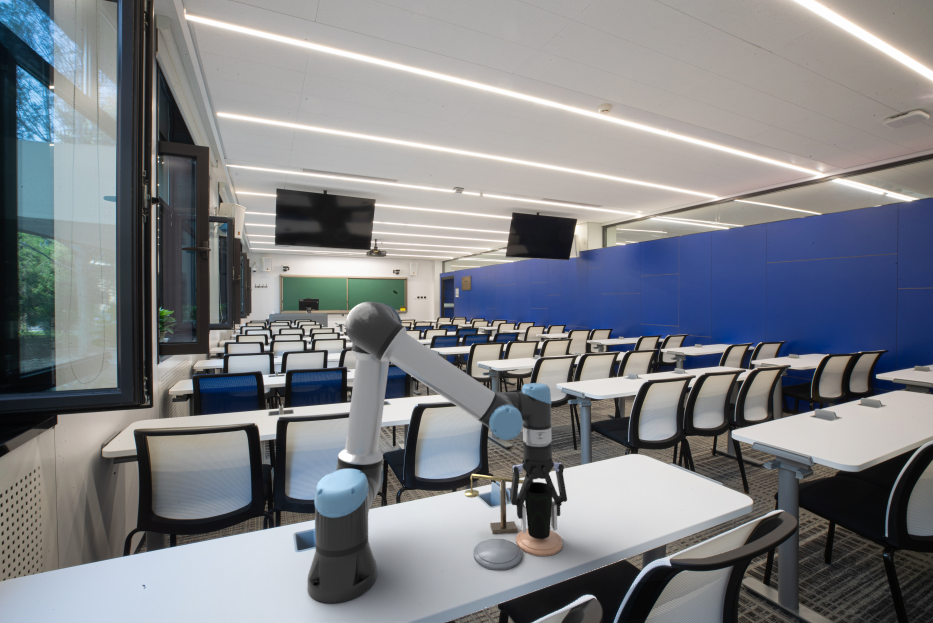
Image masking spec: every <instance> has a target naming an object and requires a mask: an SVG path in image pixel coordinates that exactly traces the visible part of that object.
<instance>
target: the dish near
mask: <svg viewBox="0 0 933 623" xmlns="http://www.w3.org/2000/svg"><path fill="white" fill-rule="evenodd" d="M473 559H474V561H475V562H476V563H477V564H478V565H479V566H481V567H483V568H485V569H488V570H492V571H493V570H494V571H505V570H509V569H512V568H514V567H516V566H517V565H518V564H520V563H521V561H522V550H521V549H520V548H519V546H518V545H517V543H516V542H513V541H511V540H508V539H504V538H487V539H485V540H482V541H480V542H478V543H477V544H476V545H475V546H474V548H473Z"/></svg>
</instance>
